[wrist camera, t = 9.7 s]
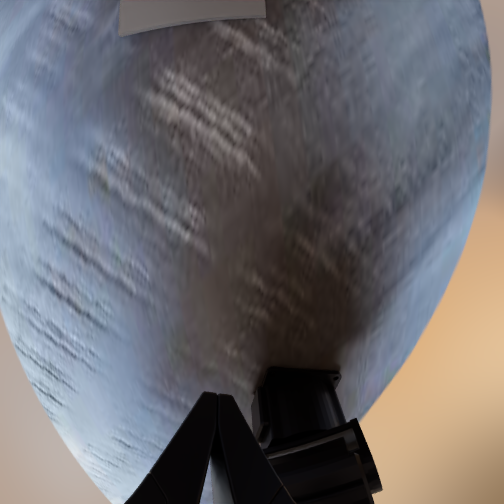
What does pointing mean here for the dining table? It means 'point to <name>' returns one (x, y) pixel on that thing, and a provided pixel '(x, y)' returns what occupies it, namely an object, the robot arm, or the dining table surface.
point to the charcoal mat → (182, 13)
